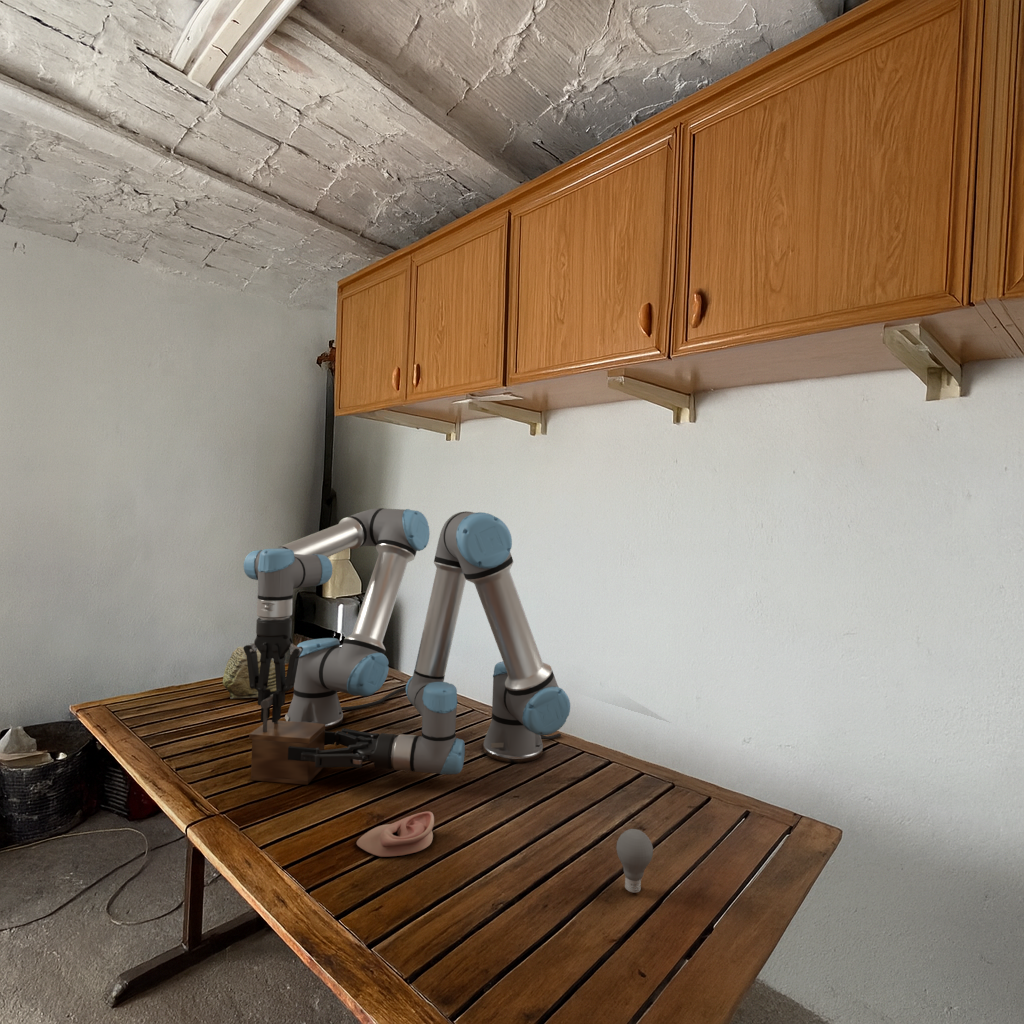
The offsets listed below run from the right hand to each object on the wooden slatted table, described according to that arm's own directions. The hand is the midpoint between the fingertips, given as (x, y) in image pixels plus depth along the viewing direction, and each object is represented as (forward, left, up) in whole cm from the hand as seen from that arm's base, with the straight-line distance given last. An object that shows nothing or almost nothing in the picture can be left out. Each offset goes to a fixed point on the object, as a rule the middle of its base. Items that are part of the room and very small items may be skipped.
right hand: (298, 744), depth 144 cm
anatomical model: (-17, +34, -7) cm, 39 cm away
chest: (+2, -1, -7) cm, 7 cm away
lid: (+2, -1, +2) cm, 3 cm away
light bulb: (-52, +60, -7) cm, 79 cm away
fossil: (+11, -62, -7) cm, 63 cm away
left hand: (+6, -3, +5) cm, 8 cm away
